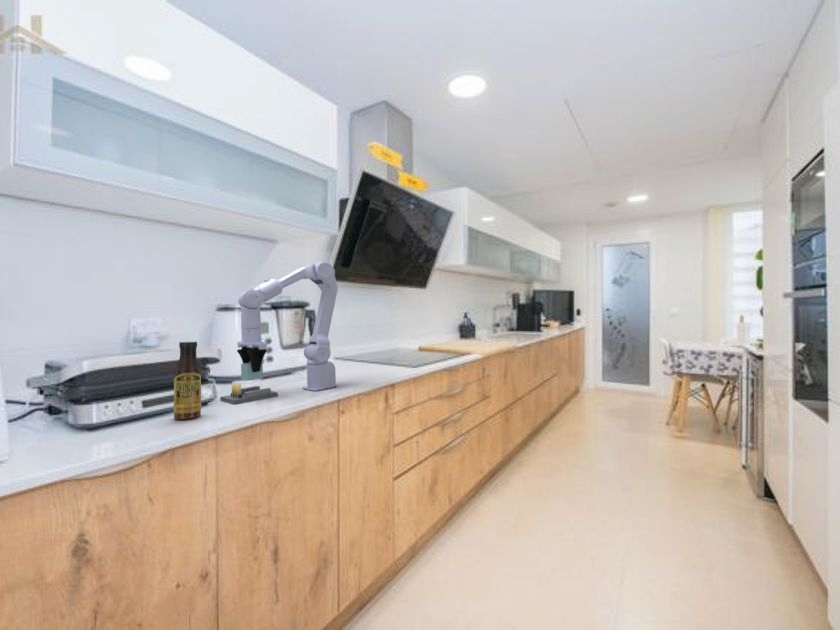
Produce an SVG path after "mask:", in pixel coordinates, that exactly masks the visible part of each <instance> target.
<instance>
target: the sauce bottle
mask: <svg viewBox="0 0 840 630" xmlns="http://www.w3.org/2000/svg"><path fill="white" fill-rule="evenodd" d="M197 347H198V342H197V341H194V340H193V341H189V340H186V341H185V340H184V341H179V345H178V348H179V359H178V361H177V363H176V364H175V366H174V377H173V418H174V419H175V420H178V419H180V420H184V419H186V420H191V418H192V419H197V418H199V416H201V413H202V412H201V411H202V404H201V366H202V365H201V363H200V362H199V360H198V358H197ZM196 417H197V418H196ZM184 421H185V420H184Z"/></svg>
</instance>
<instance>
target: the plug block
mask: <svg viewBox="0 0 840 630" xmlns="http://www.w3.org/2000/svg"><path fill="white" fill-rule="evenodd" d="M263 363H264V362H262V364H261V368H260V371H259V372H252V368H251V362H249V363H243V362H242V363H241V364H240V372H241V373H240V375H241V376H240V377H241V379H240V380H241V381H247V382H248V381H255V380H261V379H264V371H263V370H264V369H263V368H264V367H263Z"/></svg>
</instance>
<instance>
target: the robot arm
mask: <svg viewBox="0 0 840 630" xmlns="http://www.w3.org/2000/svg"><path fill="white" fill-rule="evenodd" d="M301 280H310V281H311V282H313V283H314V284H315V285H317V287H318V288H319V290H320V291H321V294H320V298H319V302H318V307H317V313H316V317H315V322H314V327H313V331H312V335H311V336H310V337H309V339H308V341H307V342H308V343H307V344H306V346H305V348H304V349H303V355H304V357H305V358H306V360H307V361H306V385H307V386H303V387H301V389H303V390H309V391H313V392H317V391H322V390H326V388H327V389H332V388H335V386H337V387H338V385H337V379H336V378H337V377H336V376H337V375H336V366H335V364H334V363H333V362H332V361H329V359H330V357H331V353H332V352H331V348H330V346H331V341H330V339H329V334H330V333H329V332H330V329H331V325H332V324H331V323H332V320H333V313H334V309H335V304H336V299H337V295H338V290H339V289H338V288H339V287H338V283H337V279H336V269H335V268H334V267H333V265H332V264H331V263H330V262H328V261H325V260H321V261H319V262H315V263H311V264H308V265H305V266H302V267H299V268H298V269H295V270H294V271H292V272H290V273H288V274H286V275H284V276H283V277H281V278H279V279H275V278H271V279H270V278H266V279H264V282H262V283H260V284H258V285H256V286H254V285H253V286H251V287H250V289H248V290H246V291H243V292H242V293H240V295H239V298H238V299H237V301H238V304H239V306H240V309H241V310H240V311H241V312H240V313H241V314H240V324H241V325H240V327H241V328H240V330H241V341H237V348H241V349H236V352H237V353H238V355H239V357H240V359H241V363H242V364H243V363H249V362H251V368H252V372H259V371H260V368H261V364H262V363H263V359H264V357H265V355H266V354H267V350H268V345H267V342H263V341H262V328H261V327H262V324H261V322H262V321H261V319H262V318H261V316H262V315H261V306H262V304H265V303H266V302H269V301H271V300H272V299H274V298H276V297H277V296H279V295H282V292H283V289H285V288H286V287H288V286H290V285H293V284H294V283H296V282H299V281H301ZM331 387H332V388H331Z"/></svg>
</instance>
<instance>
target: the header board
mask: <svg viewBox="0 0 840 630" xmlns="http://www.w3.org/2000/svg"><path fill="white" fill-rule="evenodd" d="M278 395H279V393H278V391H275V390H274V391H273V390H272V388H271V387H267V388H261V387H260V385H255V386H254V385H253V386H250V387H244V388H242V384H241V383H236V382H233V383H231V392H230V395H224V396H220V397H219V398H220V400H221V402H223V401H224V403H227V404H231V405H233V406H234V405H239V404H243V403H249V402H254V401H259V400H265V399H268V398H269V399H270V398H273V397H278Z"/></svg>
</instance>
